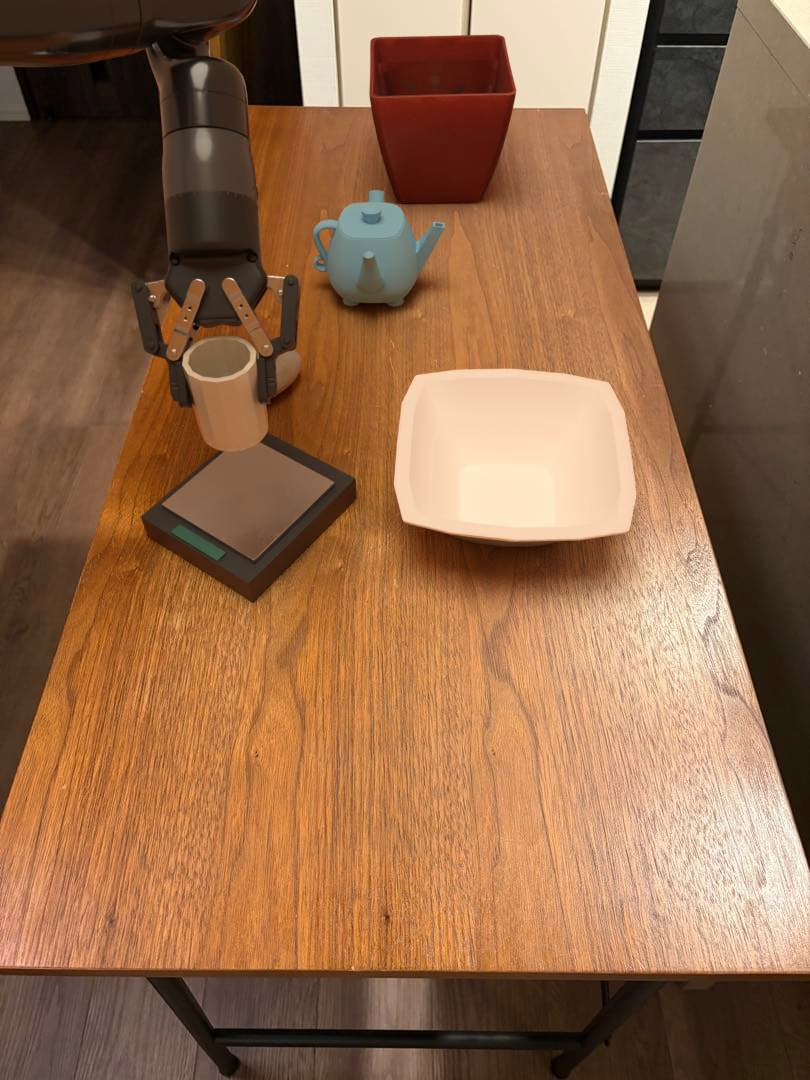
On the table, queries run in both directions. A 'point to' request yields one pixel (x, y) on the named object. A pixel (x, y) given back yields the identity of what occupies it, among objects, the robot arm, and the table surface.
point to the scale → (266, 570)
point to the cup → (226, 392)
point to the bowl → (514, 457)
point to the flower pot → (440, 113)
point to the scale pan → (249, 499)
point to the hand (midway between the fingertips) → (225, 405)
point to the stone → (286, 369)
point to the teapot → (373, 252)
